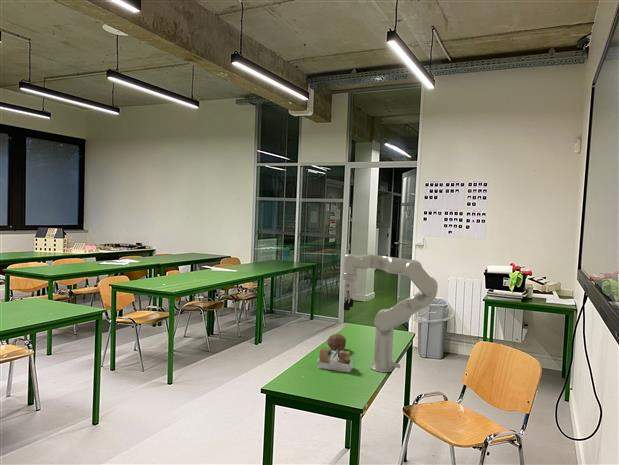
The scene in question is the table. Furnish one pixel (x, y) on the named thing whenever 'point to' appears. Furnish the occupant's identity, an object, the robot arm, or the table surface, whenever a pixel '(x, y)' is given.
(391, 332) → the robot arm
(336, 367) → the white desk organizer
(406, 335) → the table surface
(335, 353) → the metal bracket
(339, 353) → the wood grain cube
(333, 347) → the decorative rock
